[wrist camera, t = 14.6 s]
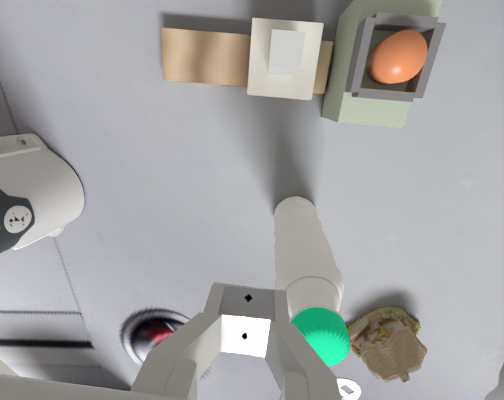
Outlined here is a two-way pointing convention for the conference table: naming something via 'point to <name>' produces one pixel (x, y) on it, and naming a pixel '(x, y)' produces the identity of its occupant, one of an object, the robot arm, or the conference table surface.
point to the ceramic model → (388, 343)
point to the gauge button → (397, 57)
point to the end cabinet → (356, 54)
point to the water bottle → (310, 278)
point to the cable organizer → (352, 397)
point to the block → (220, 58)
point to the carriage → (283, 58)
